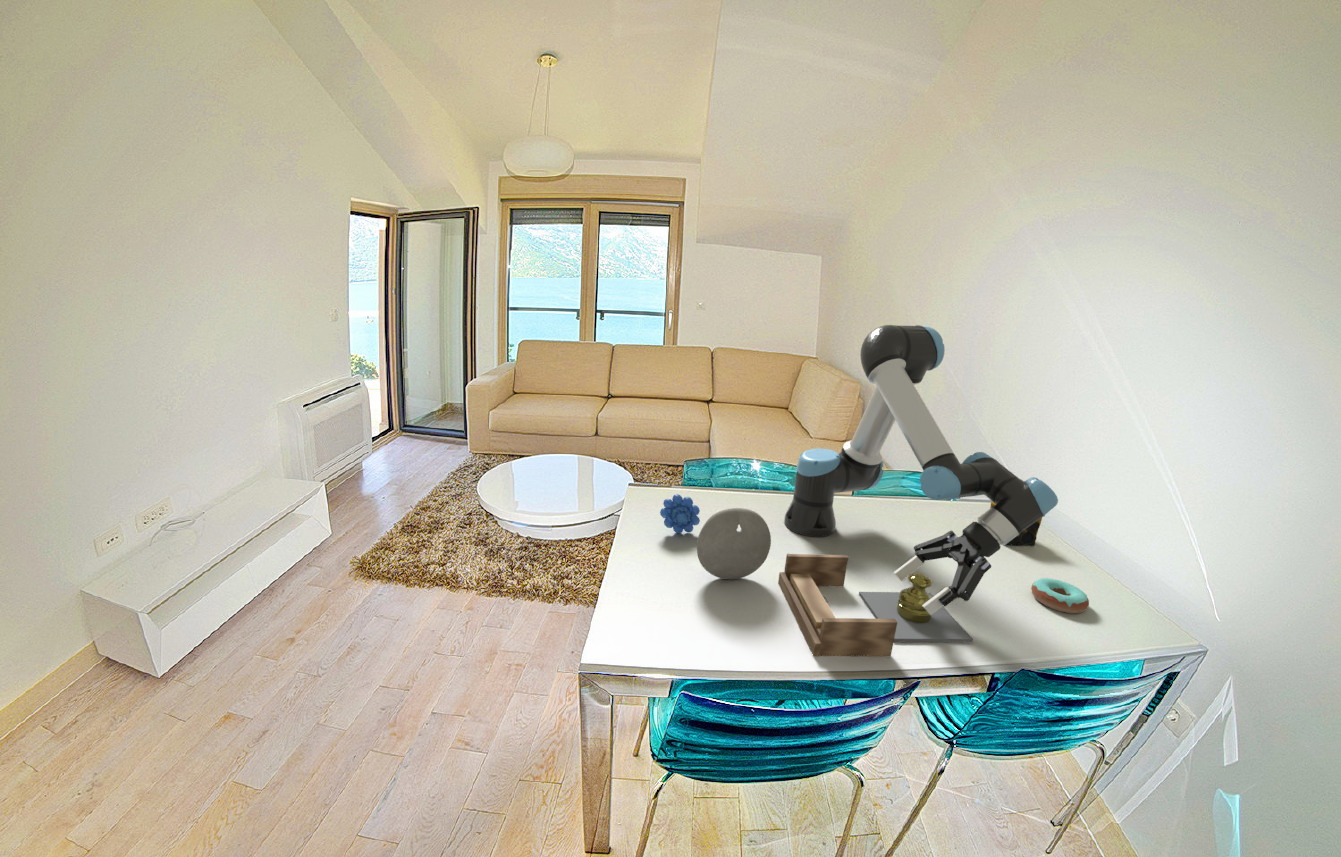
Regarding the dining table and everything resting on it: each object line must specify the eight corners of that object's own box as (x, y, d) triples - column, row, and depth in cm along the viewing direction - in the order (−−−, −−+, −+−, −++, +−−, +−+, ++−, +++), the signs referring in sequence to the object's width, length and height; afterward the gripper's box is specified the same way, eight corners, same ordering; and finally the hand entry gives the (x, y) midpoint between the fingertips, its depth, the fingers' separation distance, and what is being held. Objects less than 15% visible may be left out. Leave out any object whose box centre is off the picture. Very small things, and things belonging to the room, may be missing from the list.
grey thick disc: (761, 570, 147) (769, 502, 142) (770, 584, 141) (779, 514, 136) (691, 571, 144) (696, 502, 139) (696, 587, 138) (703, 515, 132)
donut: (1046, 585, 150) (1050, 571, 148) (1096, 610, 140) (1101, 595, 138) (1019, 594, 144) (1022, 580, 143) (1069, 621, 134) (1073, 606, 133)
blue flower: (661, 540, 159) (663, 500, 156) (657, 529, 166) (659, 491, 163) (701, 539, 162) (705, 500, 158) (696, 529, 168) (700, 490, 165)
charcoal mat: (929, 595, 141) (930, 592, 140) (972, 642, 123) (973, 638, 123) (858, 594, 139) (859, 591, 139) (892, 641, 122) (892, 638, 122)
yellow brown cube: (982, 530, 180) (989, 501, 177) (1013, 531, 181) (1020, 502, 178) (1003, 546, 170) (1011, 515, 167) (1035, 546, 171) (1043, 516, 168)
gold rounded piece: (915, 626, 126) (923, 586, 123) (889, 608, 132) (896, 569, 130) (938, 619, 129) (946, 580, 127) (911, 602, 136) (919, 564, 133)
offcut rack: (841, 583, 143) (846, 555, 141) (890, 656, 117) (897, 622, 115) (778, 582, 142) (781, 553, 140) (813, 656, 116) (818, 621, 113)
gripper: (1035, 573, 115) (950, 637, 118) (965, 520, 139) (895, 574, 142) (1017, 549, 114) (930, 614, 116) (949, 499, 137) (878, 554, 140)
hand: (911, 592), depth 129 cm, fingers open, 13 cm apart
